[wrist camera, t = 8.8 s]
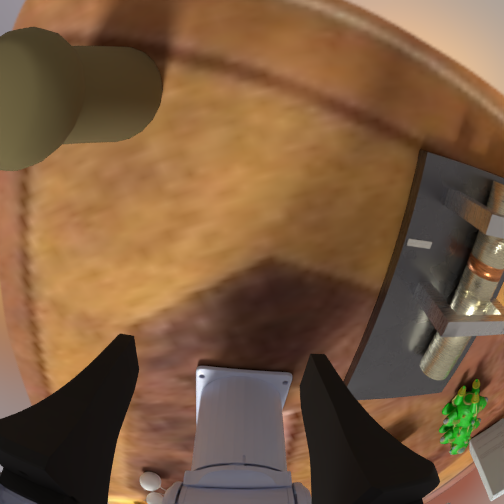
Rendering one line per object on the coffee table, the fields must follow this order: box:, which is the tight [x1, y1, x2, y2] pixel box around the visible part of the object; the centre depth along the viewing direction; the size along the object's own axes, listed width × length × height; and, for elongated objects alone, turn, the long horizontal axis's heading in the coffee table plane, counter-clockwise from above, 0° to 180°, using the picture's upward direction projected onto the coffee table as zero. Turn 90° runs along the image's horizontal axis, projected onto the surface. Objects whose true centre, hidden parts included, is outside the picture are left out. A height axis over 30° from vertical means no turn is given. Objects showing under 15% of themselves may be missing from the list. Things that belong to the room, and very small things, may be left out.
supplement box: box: [470, 418, 504, 501], centre depth 31 cm, size 7×7×13 cm
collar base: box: [343, 150, 504, 400], centre depth 20 cm, size 22×12×6 cm, turn 173°
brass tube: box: [420, 181, 504, 380], centre depth 19 cm, size 16×3×3 cm
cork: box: [0, 27, 163, 171], centre depth 11 cm, size 6×6×11 cm
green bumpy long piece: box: [439, 379, 488, 455], centre depth 29 cm, size 7×18×4 cm, turn 22°
